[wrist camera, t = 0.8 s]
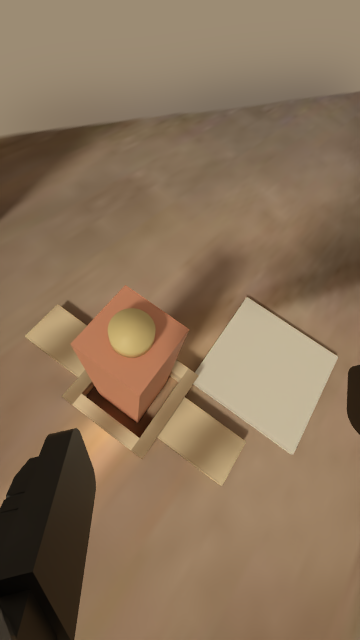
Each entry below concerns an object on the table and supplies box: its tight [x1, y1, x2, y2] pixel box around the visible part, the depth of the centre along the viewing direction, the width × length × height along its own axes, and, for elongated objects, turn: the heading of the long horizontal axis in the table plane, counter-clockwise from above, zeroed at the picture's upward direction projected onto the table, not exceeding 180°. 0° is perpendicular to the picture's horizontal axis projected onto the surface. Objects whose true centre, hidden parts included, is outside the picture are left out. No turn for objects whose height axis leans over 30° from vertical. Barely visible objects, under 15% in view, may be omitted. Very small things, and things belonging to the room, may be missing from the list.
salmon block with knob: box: [71, 285, 189, 423], centre depth 23 cm, size 4×4×16 cm
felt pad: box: [193, 297, 338, 454], centre depth 32 cm, size 12×12×1 cm
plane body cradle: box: [25, 304, 246, 486], centre depth 29 cm, size 23×9×2 cm, turn 55°
